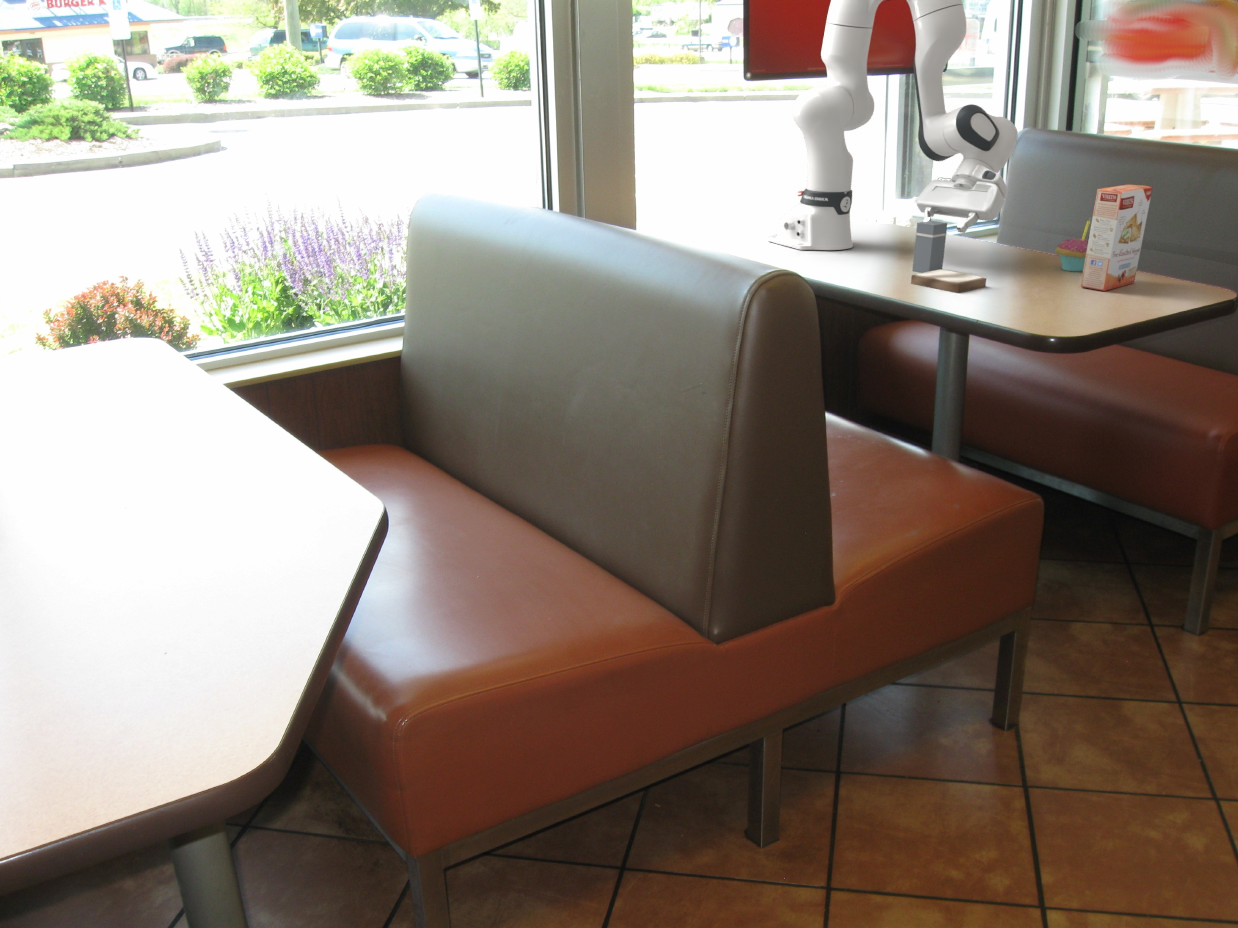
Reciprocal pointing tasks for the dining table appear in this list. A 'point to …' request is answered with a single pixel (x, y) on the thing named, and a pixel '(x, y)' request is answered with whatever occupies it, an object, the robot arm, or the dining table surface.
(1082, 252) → the cupcake
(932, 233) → the grey upright pillar block
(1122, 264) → the cracker box
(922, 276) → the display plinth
